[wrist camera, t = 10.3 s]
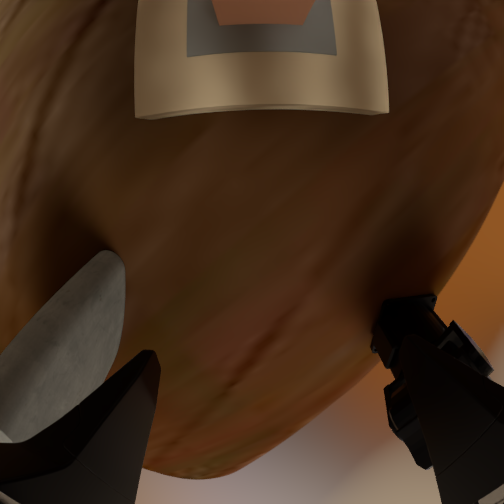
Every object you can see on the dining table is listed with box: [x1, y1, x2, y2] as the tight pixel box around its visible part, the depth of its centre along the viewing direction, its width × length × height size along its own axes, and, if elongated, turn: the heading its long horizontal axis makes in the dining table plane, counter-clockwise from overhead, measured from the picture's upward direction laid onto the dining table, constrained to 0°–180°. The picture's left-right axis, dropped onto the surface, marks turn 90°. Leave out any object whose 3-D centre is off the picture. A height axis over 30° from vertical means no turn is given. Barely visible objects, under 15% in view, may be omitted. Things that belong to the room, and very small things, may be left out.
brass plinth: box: [134, 0, 389, 120], centre depth 13 cm, size 16×16×3 cm
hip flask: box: [0, 250, 125, 443], centre depth 15 cm, size 16×4×20 cm, turn 157°
